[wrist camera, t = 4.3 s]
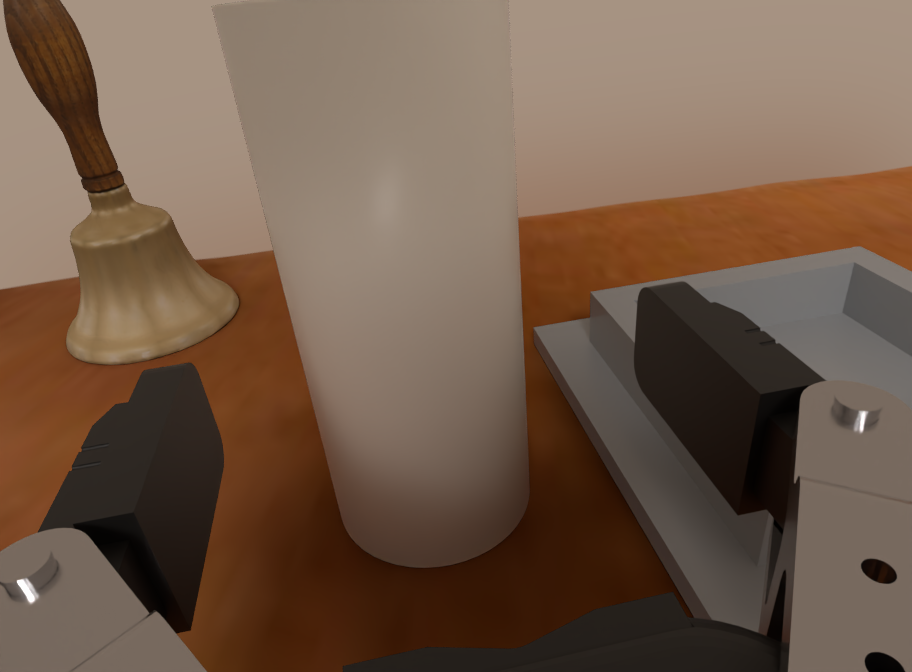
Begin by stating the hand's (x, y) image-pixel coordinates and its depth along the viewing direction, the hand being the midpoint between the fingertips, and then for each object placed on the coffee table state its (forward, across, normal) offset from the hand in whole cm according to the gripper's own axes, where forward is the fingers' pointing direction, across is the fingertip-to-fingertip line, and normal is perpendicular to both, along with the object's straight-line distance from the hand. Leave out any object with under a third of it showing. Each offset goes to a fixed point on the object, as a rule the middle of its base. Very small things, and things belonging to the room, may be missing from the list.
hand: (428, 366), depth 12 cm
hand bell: (+21, +12, +8) cm, 26 cm away
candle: (+5, 0, +8) cm, 10 cm away
